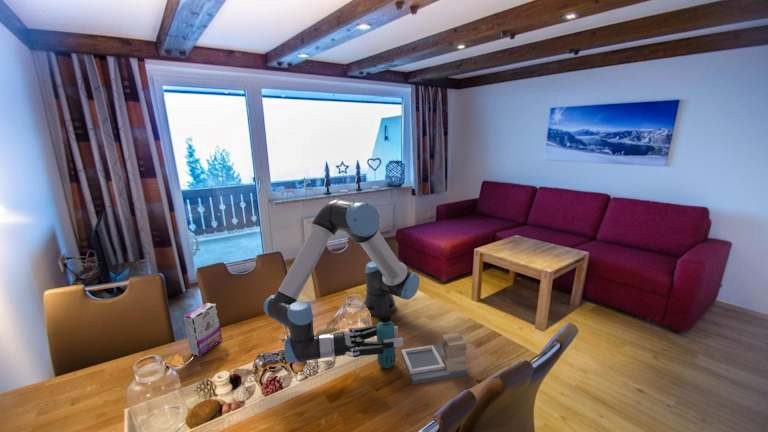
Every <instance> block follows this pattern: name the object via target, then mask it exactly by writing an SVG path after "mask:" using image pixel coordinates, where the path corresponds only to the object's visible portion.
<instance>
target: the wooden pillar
mask: <svg viewBox="0 0 768 432" xmlns="http://www.w3.org/2000/svg"><path fill="white" fill-rule="evenodd" d="M441 345H442V362H443V364H444V365H445V367H446V369H447V371H448V372H453V371H459V370H465V367H466V357H467V356H466V354H467V342H466V340H465V339H464V338H463V337H462V335H461V334H460V333H459V332H455V333H454V332H453V333H449V334H448V333H447V334H443V335H441Z"/></svg>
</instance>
